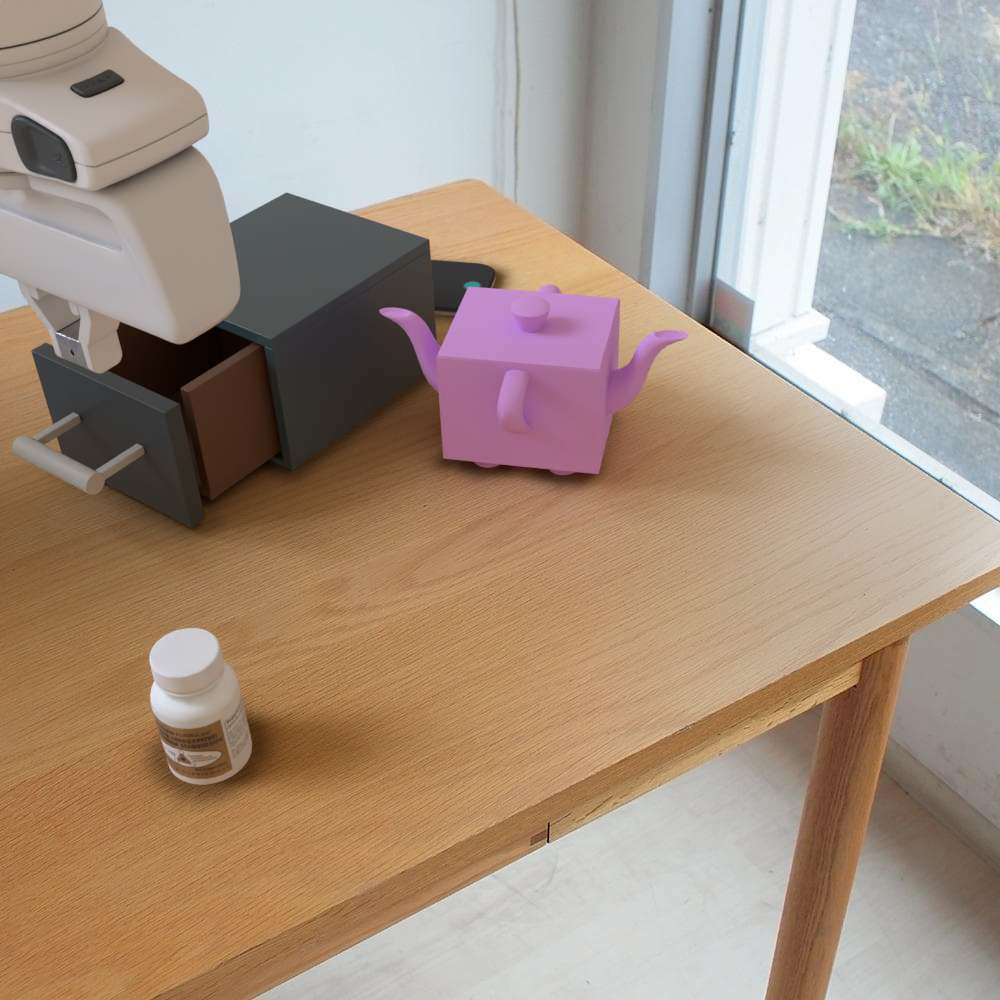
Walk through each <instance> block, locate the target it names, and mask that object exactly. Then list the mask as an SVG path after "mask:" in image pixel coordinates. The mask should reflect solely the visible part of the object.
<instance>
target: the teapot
mask: <svg viewBox="0 0 1000 1000" xmlns="http://www.w3.org/2000/svg"><path fill="white" fill-rule="evenodd" d="M379 312H380V313H381V314H382V315H383V316H385V317H387V318H389V319H391V320H392V321H394V322H396V323H397V324H398V325H399V326H401V327H402V328H403V329H404V330H405V332H406V333H407V335H408V336H409V338H410V340H411V342H412V344H413V346H414V349H415V352H416V355H417V358H418V361H419V363H420V366H421V369H422V371H423V374H424V376H423V377H425V380H426V381H427V383H428V384H429V385H430V386H431V387H432V389H433V390H434V391H436V392H437V393H438V401H439V403H438V404H439V417H440V431H441V432H440V433H441V444H442V459H446V460H454V461H463V462H464V461H465V462H474V464H475V465H476V466H479V467H480V468H485V469H486V468H488V469H489V468H495V467H498V466H500V465H503V466H504V465H505V466H513V467H523V468H533V469H534V468H535V469H543V470H549V472H550V473H553V474H554V475H557V476H569V475H572V474H574V473H583V474H593V475H594V474H595V475H600V470H601V466H602V463H603V458H604V453H605V450H606V446H607V442H608V439H609V434H610V429H611V425H612V421H613V418H614V414H615V413H618V412H621V411H622V410H624V409H626V408H627V407H629V406H630V405H631V404H632V403H633V402H634V401H635V400H636V399H637V398H638V396H639V395H640V393H641V391H642V388H643V387H644V385H645V383H646V380H647V377H648V375H649V372H650V370H651V367H652V366H653V364H654V362H655V359H656V358H657V357H658V356H659V354H660V353H661V351H663V350H664V349H665V348H667V347H668V346H670V345H673V344H675V343H678V342H681V341H683V340H685V339H687V338H689V334H688V333H687V332H685V331H682V330H675V329H662V330H657V331H653V332H651V333H649V334H648V335H645V337H644V338H643V339H642V340H641V341H640V342H639V344H638V345H637V346H636V349H635V351H634V353H633V354H632V355H633V356H632V357H631V359H630V361H629V362H628V363H627V364H626V365H624V366H622V367H620V368H619V354H620V351H619V350H620V323H621V321H620V319H621V299H620V298H618V297H610V296H609V297H607V296H599V295H598V296H597V295H587V294H586V295H584V294H583V295H582V294H571V293H562V291H561V289H560V287H558V286H557V285H554V284H545V285H543V286H540V287H539V288H538V289H537V291H535V290H534V291H533V290H521V289H506V288H494V287H493V288H481V287H468V288H467V291H466V293H465V295H464V297H463V299H462V302H461V304H460V306H459V308H458V311H457V313H456V315H455V317H453V319H452V321H451V324H450V326H449V329H448V330H447V332H446V334H445V337H444V339H443V342H442V344H441V345H440V344H439V343H438V340H437V341H436V340H435V338H434V337H433V335H432V333H431V331H430V329H429V327H428V326H427V324H426V323H425V322H424V321H423V320H422V318H420V317H419V316H418V315H417V314H415V313H414V312H412V311H409V310H406V309H401V308H383V309H380V310H379Z"/></svg>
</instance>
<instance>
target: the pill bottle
mask: <svg viewBox="0 0 1000 1000" xmlns="http://www.w3.org/2000/svg"><path fill="white" fill-rule="evenodd" d="M149 666H150V670H151V674H152V679H153V680H154V681H153V683H152V685H151V689H150V695H149V700H150V706H151V710H152V714H153V718H154V720H155V721H154V722H155V724H156V727H157V730H158V733H159V737H160V740H161V744H162V745H161V746H162V747H163V752H164V755H165V758H166V762H167V765H168V767H169V769H170V771H171V773H172V775H174V776H175V778H177V779H178V780H181V781H182V782H185V783H187V784H190V785H191V784H192V785H200V786H203V785H205V786H206V785H212V784H217V783H220V782H223V781H225V780H228V779H230V778H231V777H233V776H235V775H236V774H237V773H239V772H240V771H241V770H242V769H243V768H244V767H245V765H246V764H247V763H248V761H249V759H250V757H251V755H252V751H253V741H252V735H251V731H250V727H249V722H248V717H247V713H246V708H245V704H244V700H243V695H242V691H241V686H240V682H239V678H238V676H237V674H236V672H235V670H234V669H233V667H232V666H231V665H230V664H228V663H227V662H226V661H225V658H224V654H223V651H222V648H221V644H220V641H219V639H218V638H217V636H216V635H214V633H212V632H210V631H208V630H206V629H203V628H199V627H186V628H181V629H177V630H173V631H171V632H169V633H167V634H165V635H163V636H162V637H161V638H160V639H158V640H157V641H156V643H155V644H153V646H152V648H151V650H150V652H149Z"/></svg>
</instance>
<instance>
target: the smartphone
mask: <svg viewBox="0 0 1000 1000" xmlns="http://www.w3.org/2000/svg"><path fill="white" fill-rule="evenodd" d="M431 267H432V281H433V295H434V309H435V316H438V317H451V318H454V317H455V315H456V313H457V311H458V308H459V306H460V304H461V302H462V299H463V297H464V295H465V293H466V291H467V288H468V287H481V288H494V286H495V284H496V275H497V274H496V270H495V268H493V267H492V266H490V265H488V264H484V263H479V262H466V261H453V260H437V259H431Z"/></svg>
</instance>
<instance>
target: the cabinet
mask: <svg viewBox="0 0 1000 1000" xmlns="http://www.w3.org/2000/svg"><path fill="white" fill-rule="evenodd" d="M229 223H230V227H231V232H232V237H233V242H234V247H235V253H236V258H237V264H238V271H239V277H240V297H239V300H238V302H237V304H236V306H235V308H234V310H233V311H232V313H231V314H230V315H229V316H228V317H227V318H226V319H225V320H223V321H222V322H220V323H219V324H217V325H215V326H217V327H219V328H221V329H224V330H226V331H229V332H231V333H234V334H236V335H238V336H241V337H243V338H246V339H248V340H251V341H253V342H256V343H258V344H260V345H263V346H264V348H265V354H266V360H267V366H268V372H269V378H270V384H271V390H272V396H273V402H274V408H275V414H276V419H277V425H278V431H279V437H280V443H281V449H282V451H280V452H279V453H277V454H276V455H275V456H273V457H272V458H270V459H269V460H268V461H269V462H272V463H274V464H276V465H278V466H280V467H283V468H284V469H287V470H289V471H291V472H294V471H296V470H297V469H298V468H299V467H301V466H303V465H304V464H305V463H306V462H308V461H309V460H311V459H312V458H313V457H315V456H316V455H317V454H319V453H320V452H321V451H323V450H324V449H326V448H327V447H328V446H329V445H331V444H333V443H334V442H335V441H336V440H338V439H339V438H340V437H342V436H343V435H345V434H346V433H348V432H349V431H350V430H352V429H353V428H354V427H356V426H358V425H359V424H360V423H361V422H363V421H364V420H365V419H367V418H369V416H371V415H372V414H374V413H375V412H376V411H378V410H379V409H380V408H382V407H383V406H384V405H386V404H387V403H388V402H390V401H391V400H393V399H394V398H395V397H397V396H398V395H400V394H401V393H402V392H404V391H405V390H406V389H408V388H409V387H410V386H412V385H413V384H415V383H416V382H417V381H419V380H420V379H421V378H423V377H425V376H424V374H423V371H422V369H421V366H420V363H419V361H418V358H417V355H416V352H415V349H414V346H413V344H412V342H411V340H410V338H409V336H408V335H407V333H406V332H405V330H404V329H403V328H402V327H401V326H399V325H398V324H397V323H396V322H394V321H392V320H391V319H389V318H387V317H385V316H383V315H382V314H381V313H380V312H379V310H380V309H383V308H401V309H406V310H409V311H412V312H414V313H415V314H417V315H418V316H419V317H420V318H422V320H423V321H424V322H425V323H426V324H427V326H428V327H429V329H430V331H431V333H432V335H433V337H434V338H435V340H436V341H437V342H438V339H437V325H436V324H437V323H436V315H435V309H434V295H433V281H432V267H431V260H432V256H431V241H430V239H429V238H427V237H423V236H421V235H419V234H414V233H412V232H409V231H405V230H403V229H399V228H397V227H394V226H390V225H387V224H384V223H381V222H378V221H375V220H372V219H369V218H366V217H363V216H359V215H357V214H354V213H350V212H349V211H344V210H341V209H338V208H335V207H332V206H329V205H326V204H323V203H320V202H317V201H314V200H311V199H308V198H305V197H302V196H299V195H296V194H293V193H290V192H284V193H282V194H280V195H279V196H277V197H275V198H273V199H272V200H270V201H268V202H266V203H264V204H262V205H261V206H258V207H256V208H254V209H253V210H251V211H249V212H247V213H245V214H243V215H242V216H240V217H238V218H236V219H234V220H232V221H231V222H229Z"/></svg>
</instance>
